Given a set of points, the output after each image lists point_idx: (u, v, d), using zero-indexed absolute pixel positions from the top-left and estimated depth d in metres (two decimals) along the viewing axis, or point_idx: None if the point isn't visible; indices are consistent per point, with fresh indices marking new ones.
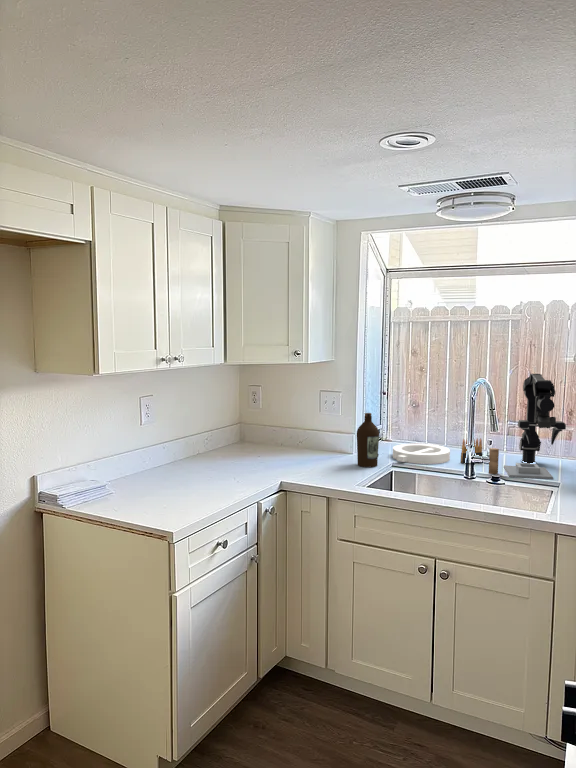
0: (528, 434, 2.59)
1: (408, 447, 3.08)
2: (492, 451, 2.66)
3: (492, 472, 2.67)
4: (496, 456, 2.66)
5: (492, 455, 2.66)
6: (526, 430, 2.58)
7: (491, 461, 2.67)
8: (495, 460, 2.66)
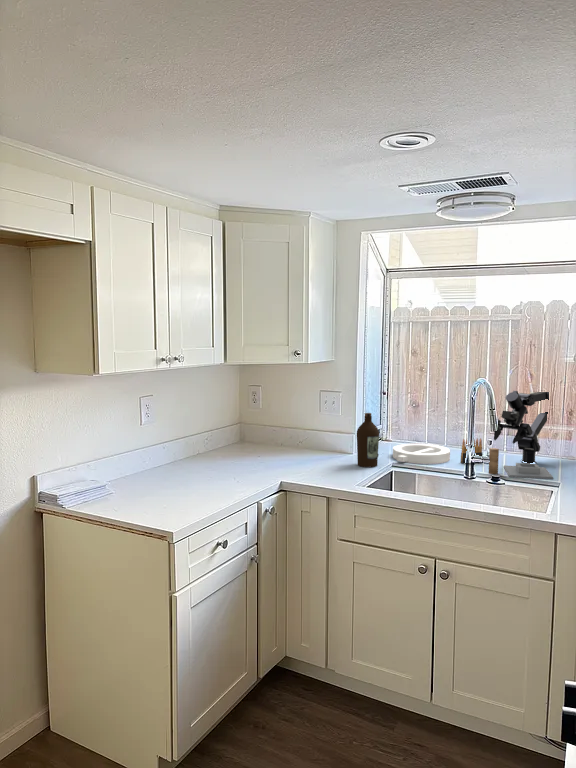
0: None
1: (408, 447, 3.08)
2: (492, 451, 2.66)
3: (492, 472, 2.67)
4: (496, 456, 2.66)
5: (492, 455, 2.66)
6: None
7: (491, 461, 2.67)
8: (495, 460, 2.66)
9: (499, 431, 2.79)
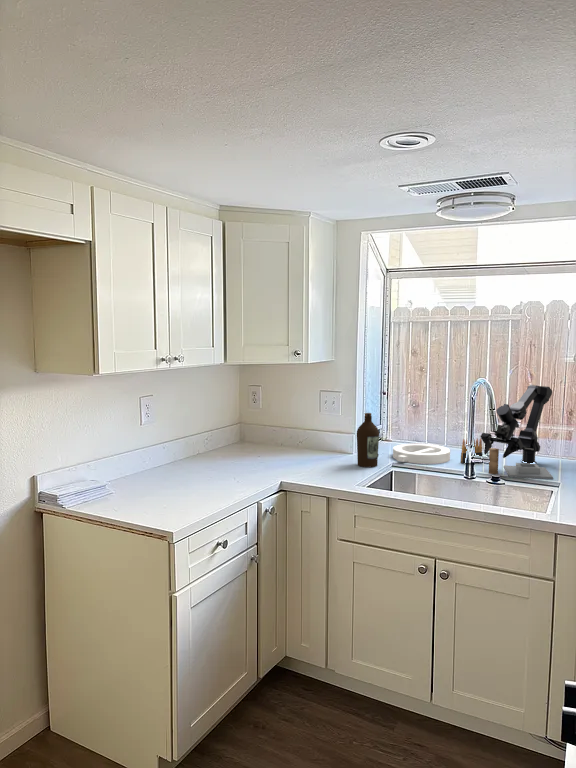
0: (486, 444, 2.73)
1: (408, 447, 3.08)
2: (492, 451, 2.66)
3: (492, 472, 2.67)
4: (496, 456, 2.66)
5: (492, 455, 2.66)
6: (484, 439, 2.74)
7: (491, 461, 2.67)
8: (495, 460, 2.66)
9: (489, 445, 2.74)
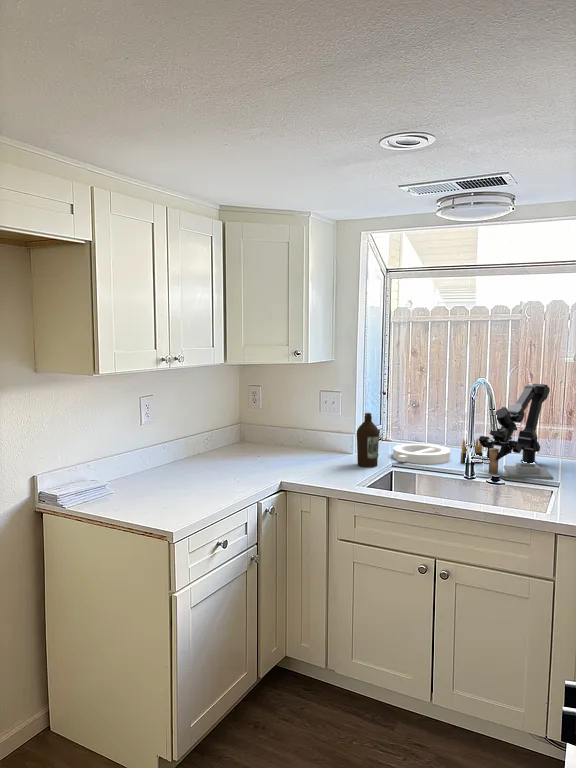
0: (489, 448, 2.70)
1: (408, 447, 3.08)
2: (492, 451, 2.66)
3: (492, 472, 2.67)
4: (496, 456, 2.66)
5: (492, 455, 2.66)
6: (487, 443, 2.71)
7: (491, 461, 2.67)
8: (495, 460, 2.66)
9: None
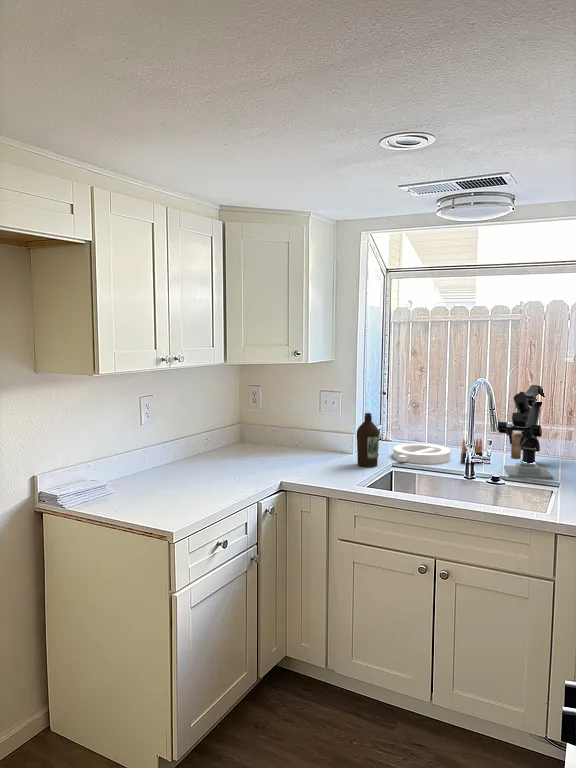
0: (510, 434, 2.68)
1: (409, 447, 3.08)
2: (516, 436, 2.64)
3: (516, 457, 2.65)
4: (520, 441, 2.64)
5: (516, 440, 2.64)
6: (508, 428, 2.69)
7: (515, 446, 2.65)
8: (519, 445, 2.64)
9: None
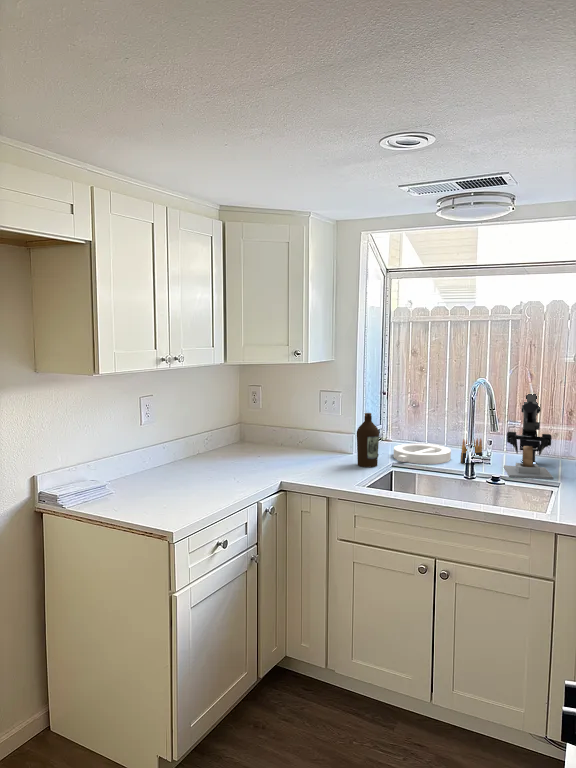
0: (515, 443, 2.70)
1: (409, 447, 3.08)
2: (528, 449, 2.65)
3: None
4: (532, 454, 2.66)
5: (528, 453, 2.65)
6: (513, 438, 2.70)
7: (527, 459, 2.66)
8: (531, 458, 2.66)
9: None
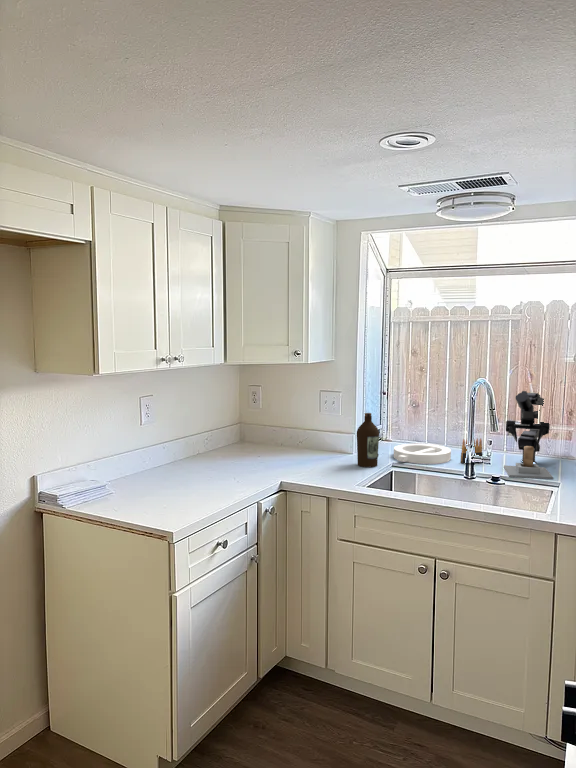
0: (515, 431, 2.75)
1: (409, 447, 3.08)
2: (529, 449, 2.65)
3: None
4: (532, 454, 2.66)
5: (529, 453, 2.65)
6: (512, 427, 2.76)
7: (528, 459, 2.66)
8: (532, 458, 2.66)
9: None
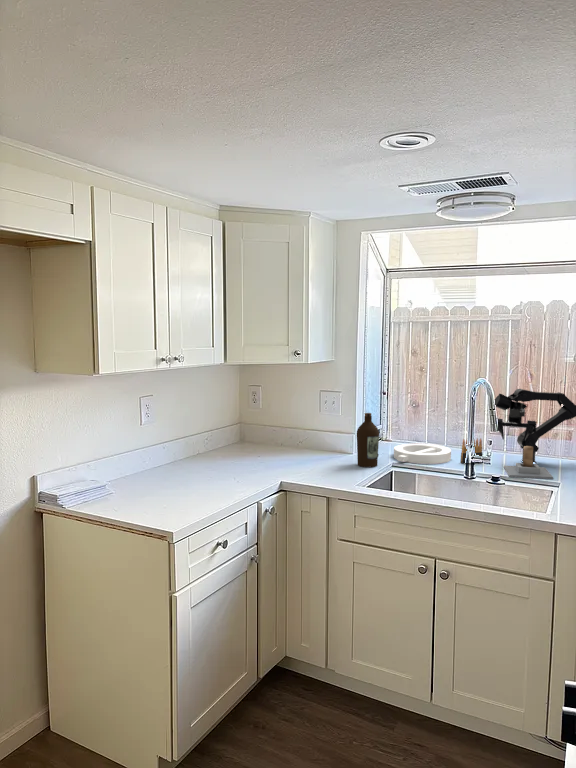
0: (502, 429, 2.79)
1: (409, 447, 3.08)
2: (529, 449, 2.65)
3: None
4: (532, 454, 2.66)
5: (529, 453, 2.65)
6: (499, 424, 2.80)
7: (528, 459, 2.66)
8: (531, 458, 2.66)
9: None
